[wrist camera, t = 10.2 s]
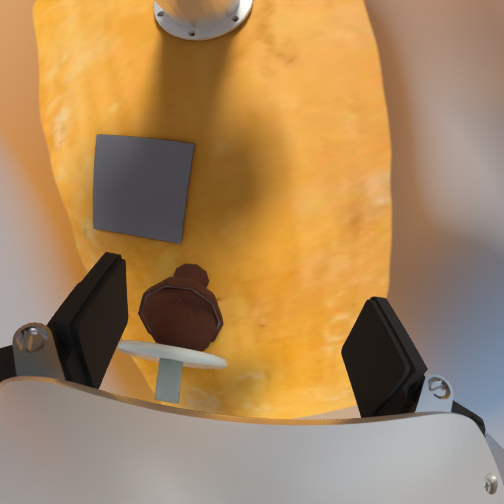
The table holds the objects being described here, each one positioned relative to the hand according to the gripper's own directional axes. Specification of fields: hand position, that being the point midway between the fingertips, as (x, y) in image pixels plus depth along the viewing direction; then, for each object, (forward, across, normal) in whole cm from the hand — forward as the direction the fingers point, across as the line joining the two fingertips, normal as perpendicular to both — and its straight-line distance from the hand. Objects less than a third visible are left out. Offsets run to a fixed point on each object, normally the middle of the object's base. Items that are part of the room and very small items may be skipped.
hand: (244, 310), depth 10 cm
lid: (+14, +5, +20) cm, 25 cm away
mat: (+28, +14, +5) cm, 32 cm away
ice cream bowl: (+28, +5, +18) cm, 34 cm away
